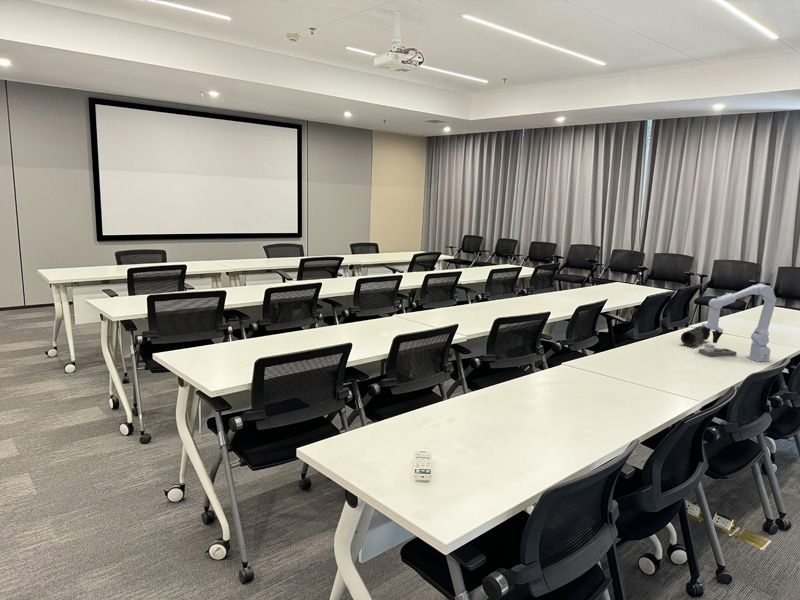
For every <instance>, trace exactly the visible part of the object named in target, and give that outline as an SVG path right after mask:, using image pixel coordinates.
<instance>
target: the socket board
mask: <svg viewBox="0 0 800 600" xmlns="http://www.w3.org/2000/svg"><path fill="white" fill-rule="evenodd" d="M697 352H698V354H700V353H701V355H704V356H707V357H736V356H737V353H738V351H734V350H733V349H729V348H715V347H714V352H707V351H705V350H704V348H698V351H697ZM735 355H736V356H735Z"/></svg>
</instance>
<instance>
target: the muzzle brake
mask: <svg viewBox="0 0 800 600" xmlns="http://www.w3.org/2000/svg"><path fill="white" fill-rule="evenodd" d="M701 328H703V327H702V325H698V326H695V327H694V328H692V329H689V330H687V331H685V332H683V333H682V334H681V336H680V340H681V342H682V343H683V345H685V346H686V347H688V348H689V347H691V346H693V345H696V344H697V343H699V344H700V342H703V341H705V340H704V339H703V333H702V330H701ZM710 335H711V331H710V332H709V335H708V339H709V338H710Z"/></svg>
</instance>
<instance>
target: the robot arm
mask: <svg viewBox="0 0 800 600" xmlns="http://www.w3.org/2000/svg"><path fill="white" fill-rule="evenodd" d="M750 295H757V296H759V297H760V298H761V299H762V300H763V301H764V303H763V306H762V310H761V313H760V317H759V320H758V323H757V327H756V328H755V329H754V330H753V331H754V332H752V333H751V336H750V338H751V340H752V342H751V344H750V352H749V356H745V358H747V359H749V358H750V360H753V361H755V362H759V363H760V362H761V363H763V362H766V363H767V362H769V363H770V356H771V348H770V347H768V344H769V341H770V340H769V335H770V333H769V327H770V323H771V319H772V316H773V313H774V310H775V306H776V302H777V298H776V295H775V290H774V289H773V288H772V287H771V286H769V285H766V284H764V283H756V284H754V285H751V286H749V287H747V288H744V289H742V290H740V291H737V292H735V293H732V292H730V293H729V292H725V294H724V295H721V296H717V297H716V298H711V299H710V300H709V301H708V307H709V309H708V315H707V316H708V317H707V323H701V326H702V327H703V328H701V330H702V333H703V339H704V340H703V341H707V340H708V339H709V338H708V335H709V332H710V333H711V332H712V343H713V344H717V343H718V341H719V340H720V337H721V336H722V335H723V334H724V331H723V330H724V329H723V328H721V327H720V326H719V321H720V314H721V309H722V308H723V307H725V306H728V305H730V304H732V303H736V300H737V299H741V298H743V297H747V296H750ZM711 330H712V331H711Z"/></svg>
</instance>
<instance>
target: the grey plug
mask: <svg viewBox="0 0 800 600" xmlns="http://www.w3.org/2000/svg"><path fill="white" fill-rule="evenodd" d="M715 347H716V346H715V345H714V344H711V343H705V344H704V347H703V349H704V350H705V351H707V352H714V348H715Z"/></svg>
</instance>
